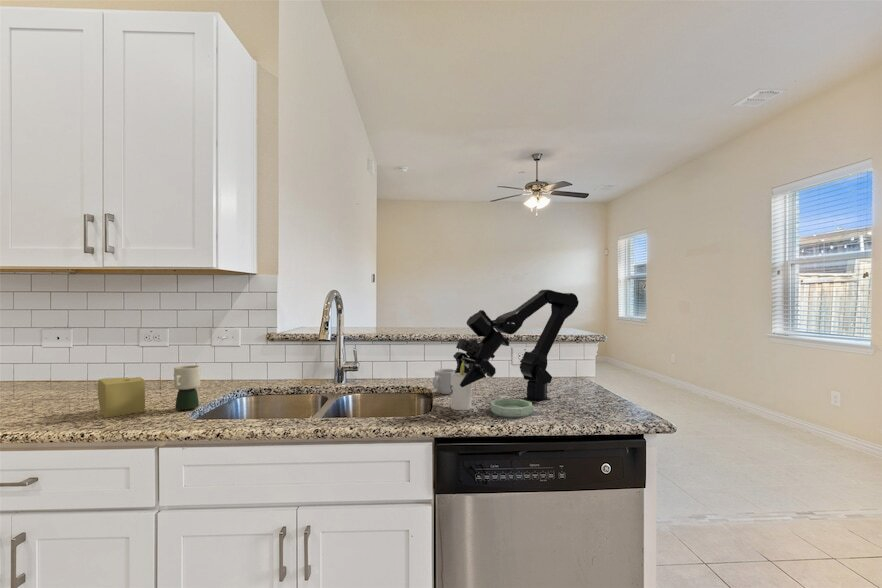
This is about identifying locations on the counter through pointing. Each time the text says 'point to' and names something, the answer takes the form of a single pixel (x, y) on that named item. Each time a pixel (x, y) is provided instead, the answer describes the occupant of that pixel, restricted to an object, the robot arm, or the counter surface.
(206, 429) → the counter surface
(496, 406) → the dish
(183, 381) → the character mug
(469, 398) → the candle
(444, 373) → the cup
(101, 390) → the cheese
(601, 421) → the counter surface
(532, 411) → the mat
